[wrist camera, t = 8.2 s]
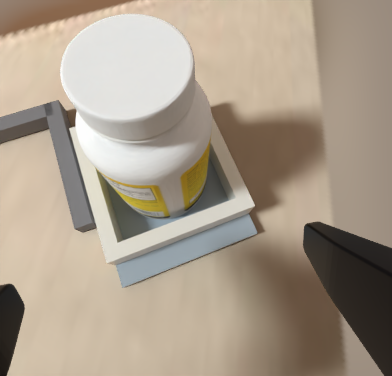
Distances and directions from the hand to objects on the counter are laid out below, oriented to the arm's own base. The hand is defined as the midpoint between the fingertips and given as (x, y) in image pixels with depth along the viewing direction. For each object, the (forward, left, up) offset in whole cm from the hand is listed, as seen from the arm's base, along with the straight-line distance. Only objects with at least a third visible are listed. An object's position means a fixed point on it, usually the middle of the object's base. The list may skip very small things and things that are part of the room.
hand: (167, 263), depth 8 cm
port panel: (+6, -1, -8) cm, 10 cm away
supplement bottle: (+6, -1, -8) cm, 10 cm away
